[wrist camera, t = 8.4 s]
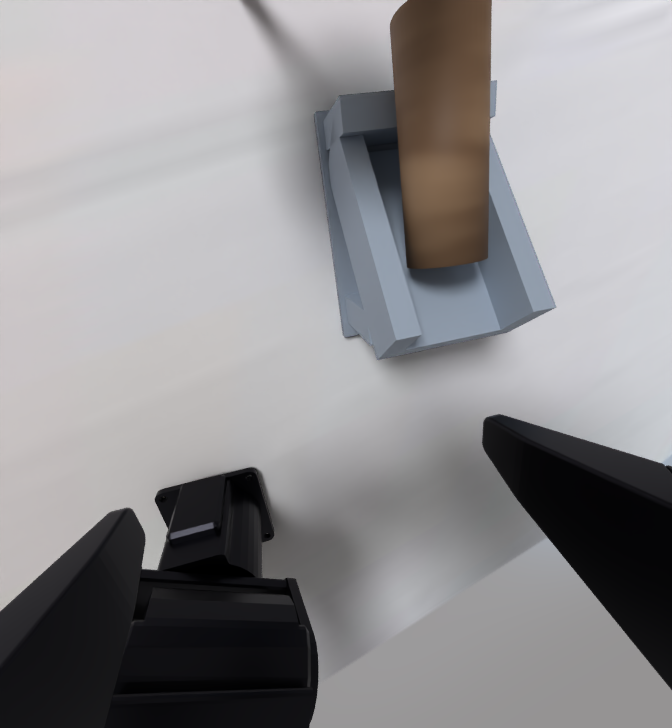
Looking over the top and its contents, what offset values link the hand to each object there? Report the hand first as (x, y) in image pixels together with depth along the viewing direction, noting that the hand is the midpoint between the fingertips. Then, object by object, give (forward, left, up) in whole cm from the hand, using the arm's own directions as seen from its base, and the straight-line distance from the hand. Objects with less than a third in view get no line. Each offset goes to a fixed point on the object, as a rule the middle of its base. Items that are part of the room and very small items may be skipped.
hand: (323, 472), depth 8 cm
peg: (+3, -7, -6) cm, 10 cm away
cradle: (+4, -7, -12) cm, 15 cm away
